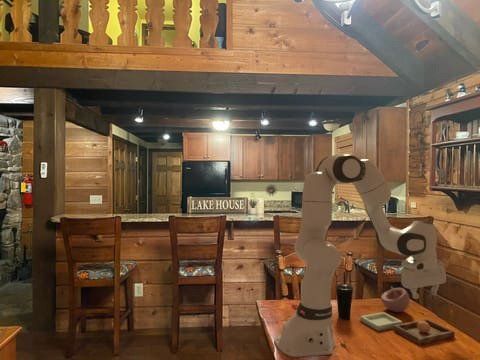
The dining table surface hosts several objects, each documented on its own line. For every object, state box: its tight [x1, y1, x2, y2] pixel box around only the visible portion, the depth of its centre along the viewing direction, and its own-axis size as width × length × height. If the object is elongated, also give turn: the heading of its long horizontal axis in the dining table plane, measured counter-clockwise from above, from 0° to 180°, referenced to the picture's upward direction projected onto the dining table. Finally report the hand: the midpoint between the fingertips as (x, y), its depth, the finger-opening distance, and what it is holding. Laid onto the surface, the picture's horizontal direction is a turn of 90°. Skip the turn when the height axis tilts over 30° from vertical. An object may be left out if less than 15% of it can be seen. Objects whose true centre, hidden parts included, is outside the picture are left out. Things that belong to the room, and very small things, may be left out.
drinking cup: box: [335, 271, 354, 321], centre depth 141 cm, size 8×8×20 cm
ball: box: [417, 321, 430, 333], centre depth 126 cm, size 4×4×4 cm
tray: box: [359, 311, 403, 332], centre depth 135 cm, size 13×10×2 cm
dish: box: [393, 318, 456, 346], centre depth 126 cm, size 18×12×2 cm, turn 110°
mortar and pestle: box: [380, 286, 411, 313], centre depth 148 cm, size 12×12×12 cm
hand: (424, 296), depth 126 cm, fingers open, 8 cm apart
